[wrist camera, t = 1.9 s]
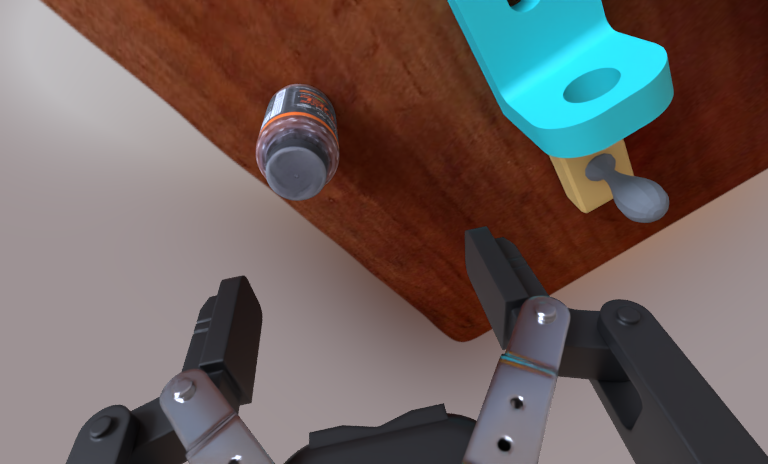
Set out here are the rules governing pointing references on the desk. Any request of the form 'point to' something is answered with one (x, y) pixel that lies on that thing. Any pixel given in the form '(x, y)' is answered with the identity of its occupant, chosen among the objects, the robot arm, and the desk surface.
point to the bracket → (566, 71)
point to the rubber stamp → (611, 184)
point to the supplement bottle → (298, 142)
